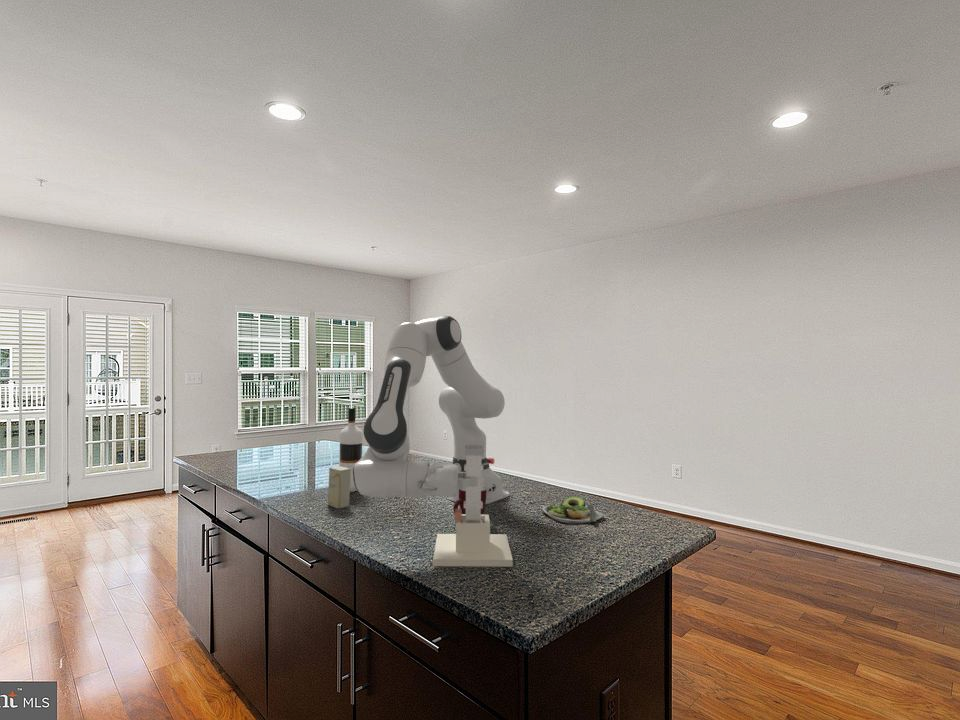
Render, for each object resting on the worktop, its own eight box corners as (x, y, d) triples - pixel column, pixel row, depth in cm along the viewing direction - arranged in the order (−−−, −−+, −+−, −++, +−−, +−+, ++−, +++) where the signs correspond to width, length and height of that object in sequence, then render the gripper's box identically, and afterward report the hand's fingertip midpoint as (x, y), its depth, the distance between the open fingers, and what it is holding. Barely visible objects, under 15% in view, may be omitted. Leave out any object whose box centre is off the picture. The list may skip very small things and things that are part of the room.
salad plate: (618, 525, 149) (618, 509, 149) (563, 529, 143) (563, 513, 143) (586, 507, 167) (586, 493, 167) (536, 511, 162) (536, 496, 162)
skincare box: (327, 505, 163) (328, 467, 164) (339, 502, 167) (339, 465, 167) (338, 509, 159) (339, 470, 160) (350, 506, 163) (351, 468, 163)
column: (463, 539, 126) (464, 445, 127) (481, 539, 127) (483, 445, 127) (462, 548, 120) (464, 449, 121) (482, 548, 120) (483, 449, 121)
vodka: (347, 494, 179) (349, 408, 179) (331, 489, 184) (333, 407, 185) (368, 489, 186) (370, 407, 186) (352, 485, 192) (354, 406, 192)
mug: (466, 531, 139) (466, 494, 139) (446, 524, 145) (446, 489, 145) (491, 523, 147) (492, 488, 147) (471, 517, 152) (472, 484, 153)
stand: (437, 539, 132) (438, 501, 132) (506, 540, 132) (506, 501, 133) (432, 566, 114) (433, 521, 114) (512, 566, 115) (513, 522, 115)
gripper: (416, 475, 113) (478, 475, 113) (424, 458, 133) (476, 459, 134) (415, 503, 113) (477, 504, 113) (423, 482, 133) (476, 483, 134)
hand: (477, 479), depth 124 cm, fingers closed on column, 4 cm apart
